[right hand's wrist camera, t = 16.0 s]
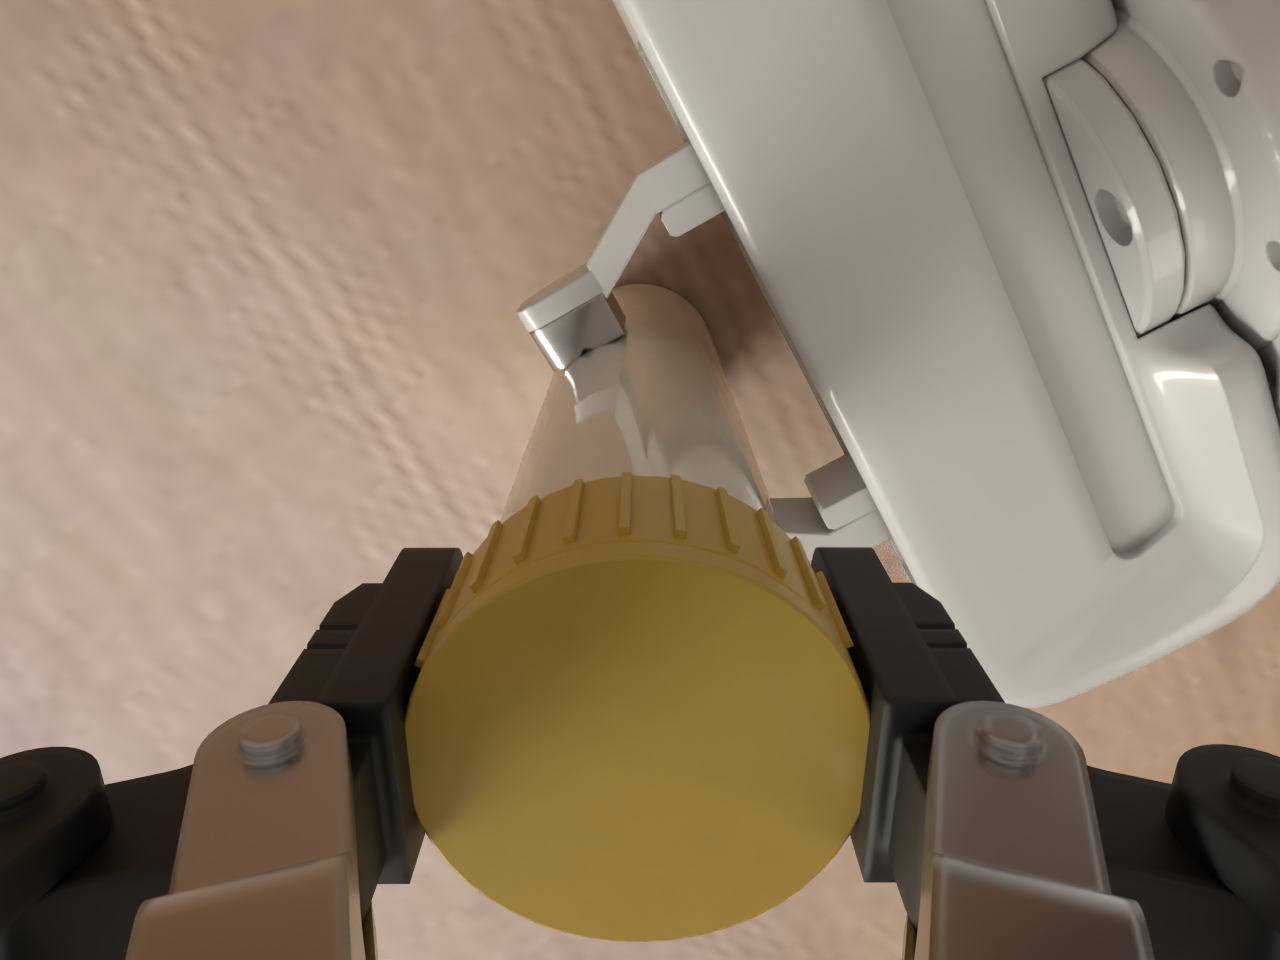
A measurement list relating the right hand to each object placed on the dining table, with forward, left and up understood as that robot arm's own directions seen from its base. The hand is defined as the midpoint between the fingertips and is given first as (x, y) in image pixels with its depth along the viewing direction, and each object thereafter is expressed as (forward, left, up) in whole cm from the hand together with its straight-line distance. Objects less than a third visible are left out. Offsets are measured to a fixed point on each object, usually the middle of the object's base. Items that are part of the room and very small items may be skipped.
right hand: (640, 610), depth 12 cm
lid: (0, 0, +3) cm, 3 cm away
